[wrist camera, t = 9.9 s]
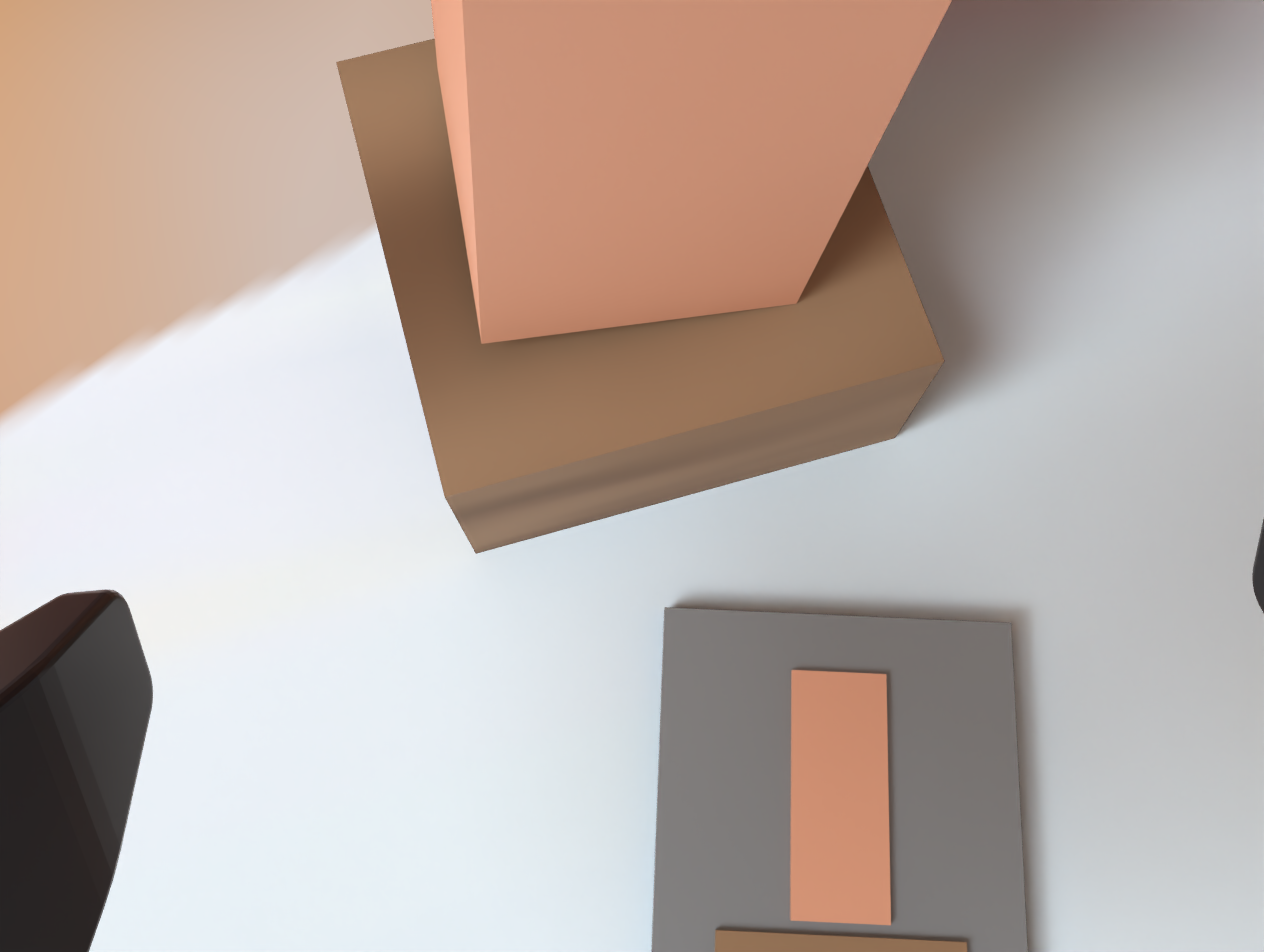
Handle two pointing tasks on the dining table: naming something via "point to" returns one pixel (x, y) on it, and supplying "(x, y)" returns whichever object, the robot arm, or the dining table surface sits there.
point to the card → (837, 785)
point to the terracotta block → (661, 148)
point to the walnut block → (622, 351)
